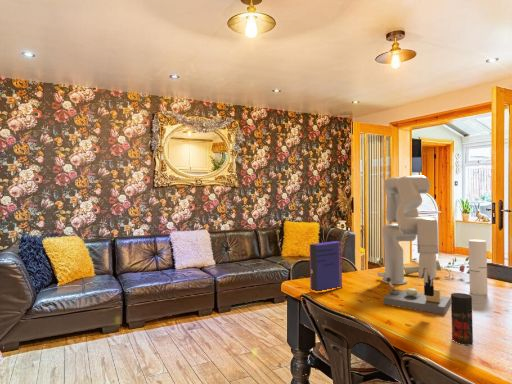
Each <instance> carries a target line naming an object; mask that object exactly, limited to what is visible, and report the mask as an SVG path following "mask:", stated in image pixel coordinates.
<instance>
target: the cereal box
mask: <svg viewBox="0 0 512 384" xmlns="http://www.w3.org/2000/svg"><path fill="white" fill-rule="evenodd" d="M342 261H343V260H342V242H341V241H337V240H336V241H335V240H333V241H325V242H317V243H311V244H309V280H310V281H309V282H310V290H311V289H312V290H315V291H322V290H327V289H332V288H337V287H342V288H343V272H342V271H343V270H342V269H343V265H342V264H343V263H342Z"/></svg>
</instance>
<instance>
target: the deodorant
mask: <svg viewBox="0 0 512 384" xmlns="http://www.w3.org/2000/svg"><path fill="white" fill-rule="evenodd" d="M450 297H451V305H450V310H451V312H450V313H451V340H454V341H455V342H457V343H456V344H458V343H460V344H459V345H462V344H471V345H473V344H474V336H473V335H474V334H473V333H474V332H473V298H472V297H473V296H472V295H470V294H467V293H463V292H453V293H451V294H450ZM454 341H453V342H454ZM455 342H454V343H455ZM472 343H473V344H472Z"/></svg>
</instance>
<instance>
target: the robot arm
mask: <svg viewBox="0 0 512 384" xmlns="http://www.w3.org/2000/svg"><path fill="white" fill-rule="evenodd" d="M430 182H431V181H430V180H429V178H428V177H427V176H425V175H404V176H397V177H388V178H386V179H385V180H384V183H383V189H384V192H385V195H386V208H385V209H386V212H385V216H386V217H385V218H386V220H387V222H389V223H387V224H385V225H384V226H382V228H381V232H382V238H383V244H384V245H383V246H384V247H383V248H384V250H383V251H384V272H380V271H379V272H377V276H378V277H380V278H381V277H382V279H381V281H382V282H383V283H385V284H389V282H387V281H386V278H387V277H389V278H390V279H391V283H392V285H405V284H407V283H408V279H406V278H405V270H404V267H405V266H404V249H403V247H402V245H401V244H400V243H399V242H413V241H415V240H416V242H417V244H416V245H417V246H416V247H417V253H418V255H419V256H418V265H419V272H418V278H419V279H423V284H424V285H423V292H424V295H426V296H433V295H434V289H435V288H434V287H435V286H434V278H435V277H436V276H437V270H436V261H437V255H438V254H439V235H438V234H439V230H438V227H439V226H438V224H439V223H438V221H437V218H436V219H435V218H432V217H430V216H419V210H418V208H419V207H420V206H421V205H422V203H423V199H422V196H421V194H422V195H424V194H427V193H429V191H430V189H431V183H430Z"/></svg>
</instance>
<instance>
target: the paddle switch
mask: <svg viewBox="0 0 512 384" xmlns="http://www.w3.org/2000/svg"><path fill="white" fill-rule="evenodd" d="M440 296H441V289H440V288H439V289H438V288H434V295H433V296H426V301H431V302H438V303H439V302H440Z"/></svg>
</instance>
